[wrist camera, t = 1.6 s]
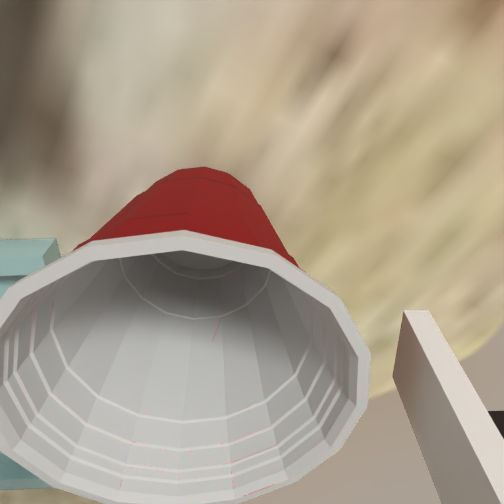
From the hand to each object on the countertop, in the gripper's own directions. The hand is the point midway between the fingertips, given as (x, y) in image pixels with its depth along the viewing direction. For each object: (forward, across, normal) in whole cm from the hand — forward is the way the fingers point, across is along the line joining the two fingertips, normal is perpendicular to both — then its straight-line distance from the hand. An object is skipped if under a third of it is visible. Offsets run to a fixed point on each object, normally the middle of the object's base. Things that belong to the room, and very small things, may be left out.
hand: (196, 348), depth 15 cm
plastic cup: (+10, 0, 0) cm, 10 cm away
